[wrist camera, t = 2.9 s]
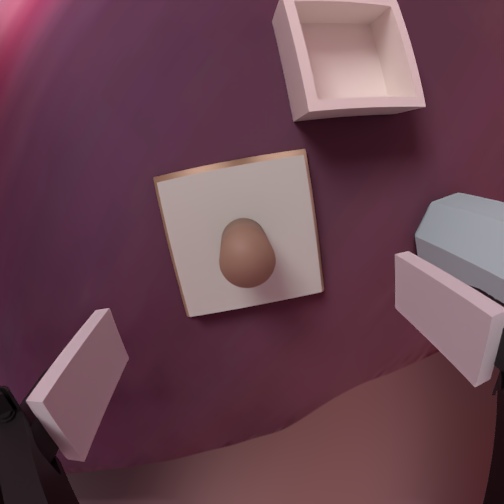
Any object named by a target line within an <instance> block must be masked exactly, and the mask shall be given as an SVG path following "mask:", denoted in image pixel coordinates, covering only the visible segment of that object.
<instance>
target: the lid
mask: <svg viewBox="0 0 504 504" xmlns="http://www.w3.org/2000/svg"><path fill="white" fill-rule="evenodd" d="M157 186H158V191H159V196H160V201H161V205H162V210H163V214H164V219H165V223H166V228H167V232H168V236H169V240H170V244H171V249H172V253H173V257H174V261H175V265H176V268H177V272H178V276H179V280H180V284H181V287H182V291H183V295H184V298H185V302H186V306H187V309H188V313H189V316H190V317H193V316H199V315H205V314H211V313H217V312H222V311H228V310H234V309H239V308H245V307H250V306H255V305H261V304H266V303H271V302H276V301H281V300H286V299H291V298H296V297H301V296H305V295H310V294H315V293H319V292H322V286H321V277H320V268H319V259H318V250H317V242H316V234H315V226H314V219H313V211H312V204H311V197H310V191H309V184H308V177H307V171H306V165H305V159H304V155H300V156H293V157H286V158H279V159H273V160H267V161H261V162H255V163H249V164H243V165H238V166H233V167H227V168H222V169H217V170H212V171H207V172H202V173H197V174H193V175H188V176H183V177H179V178H174V179H170V180H166V181H161V182H157Z"/></svg>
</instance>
